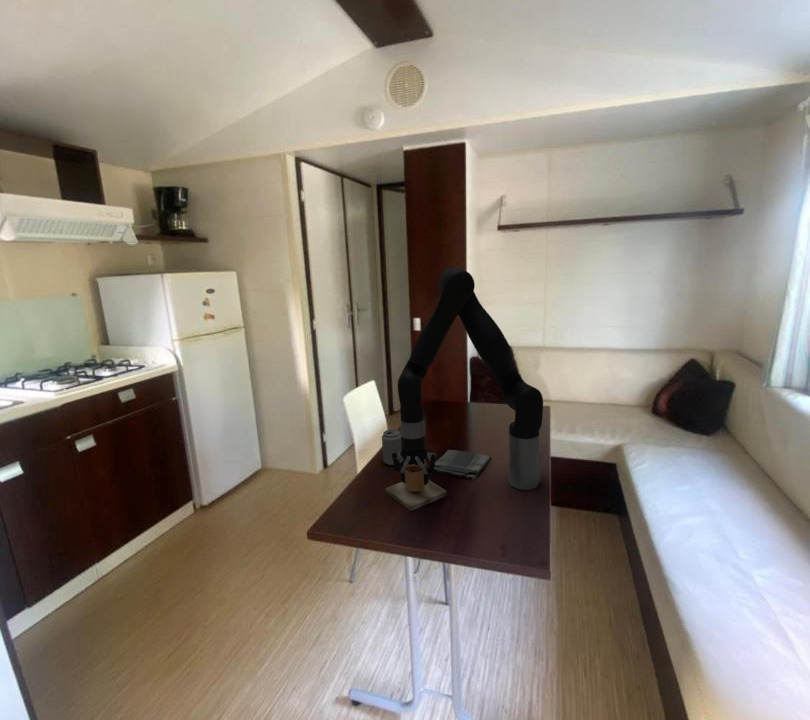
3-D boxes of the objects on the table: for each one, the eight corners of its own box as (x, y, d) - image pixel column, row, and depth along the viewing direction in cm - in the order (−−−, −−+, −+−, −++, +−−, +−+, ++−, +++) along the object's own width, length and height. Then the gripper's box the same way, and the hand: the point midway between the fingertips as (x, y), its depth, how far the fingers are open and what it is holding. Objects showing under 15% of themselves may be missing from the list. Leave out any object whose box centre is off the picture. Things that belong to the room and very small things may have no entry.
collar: (408, 481, 139) (407, 464, 138) (426, 482, 138) (425, 465, 136) (404, 490, 133) (403, 472, 132) (423, 491, 132) (422, 473, 131)
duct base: (420, 478, 146) (420, 474, 145) (447, 495, 134) (446, 491, 134) (385, 492, 138) (385, 488, 138) (410, 511, 127) (410, 506, 126)
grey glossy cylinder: (416, 486, 138) (415, 468, 137) (422, 490, 135) (421, 472, 134) (408, 489, 136) (407, 472, 135) (414, 493, 134) (413, 475, 132)
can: (391, 456, 165) (389, 426, 162) (407, 460, 160) (405, 430, 158) (379, 463, 159) (377, 433, 156) (395, 468, 154) (393, 437, 152)
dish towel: (448, 452, 166) (447, 444, 166) (492, 460, 158) (492, 452, 157) (426, 473, 151) (426, 464, 150) (474, 483, 142) (474, 474, 141)
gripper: (437, 429, 134) (439, 478, 137) (393, 428, 137) (395, 476, 140) (434, 438, 127) (436, 490, 130) (387, 437, 130) (390, 487, 133)
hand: (415, 483), depth 135 cm, fingers closed on collar, 6 cm apart
